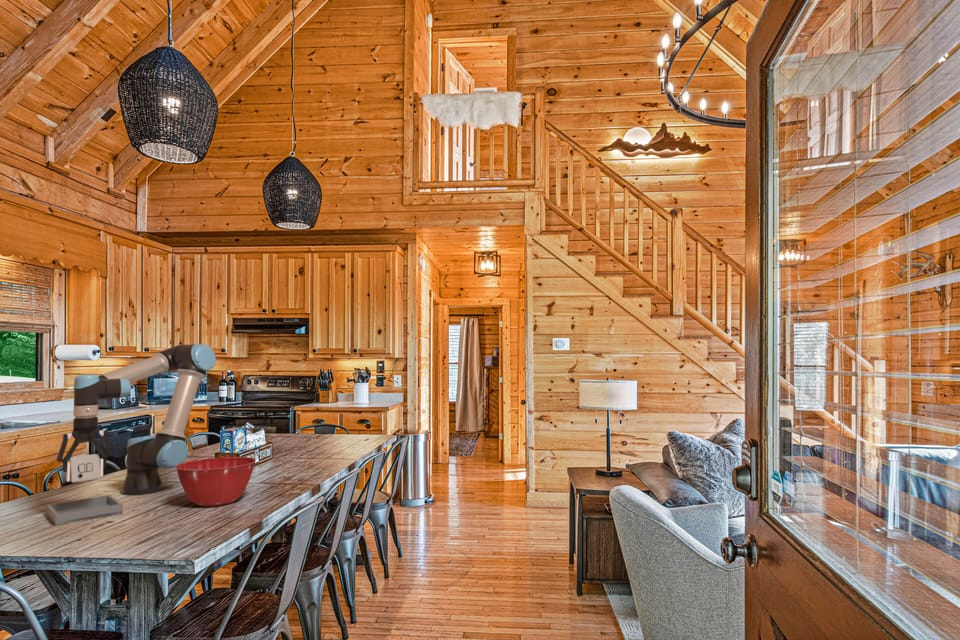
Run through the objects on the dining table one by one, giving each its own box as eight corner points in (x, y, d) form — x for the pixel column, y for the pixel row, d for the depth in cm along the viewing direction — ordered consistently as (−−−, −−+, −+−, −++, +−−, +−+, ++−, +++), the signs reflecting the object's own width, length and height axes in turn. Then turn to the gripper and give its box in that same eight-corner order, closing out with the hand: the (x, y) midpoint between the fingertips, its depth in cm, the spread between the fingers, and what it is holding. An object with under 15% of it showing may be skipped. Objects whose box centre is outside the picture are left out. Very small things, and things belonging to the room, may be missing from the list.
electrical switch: (71, 483, 209) (71, 457, 210) (66, 483, 212) (66, 457, 213) (101, 479, 216) (101, 453, 217) (96, 478, 220) (96, 453, 221)
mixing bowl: (199, 493, 242) (199, 456, 243) (267, 493, 241) (267, 455, 242) (159, 512, 214) (159, 470, 215) (236, 512, 213) (236, 469, 214)
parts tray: (109, 504, 228) (110, 495, 228) (122, 513, 214) (122, 504, 214) (46, 514, 214) (46, 505, 215) (55, 525, 200) (55, 515, 200)
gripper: (50, 420, 205) (48, 485, 204) (122, 414, 221) (121, 475, 219) (47, 418, 211) (45, 481, 210) (118, 413, 226) (117, 472, 225)
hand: (84, 478), depth 215 cm, fingers closed on electrical switch, 9 cm apart
